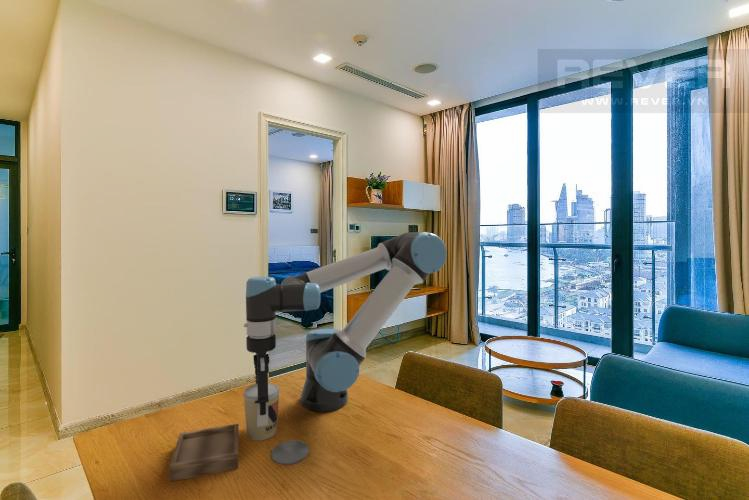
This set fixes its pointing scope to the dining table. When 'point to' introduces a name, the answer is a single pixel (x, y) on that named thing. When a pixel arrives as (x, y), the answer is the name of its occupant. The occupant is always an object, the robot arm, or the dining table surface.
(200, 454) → the square wooden tray
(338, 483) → the dining table surface
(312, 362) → the robot arm
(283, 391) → the dining table surface
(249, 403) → the coffee cup
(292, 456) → the slate coaster
